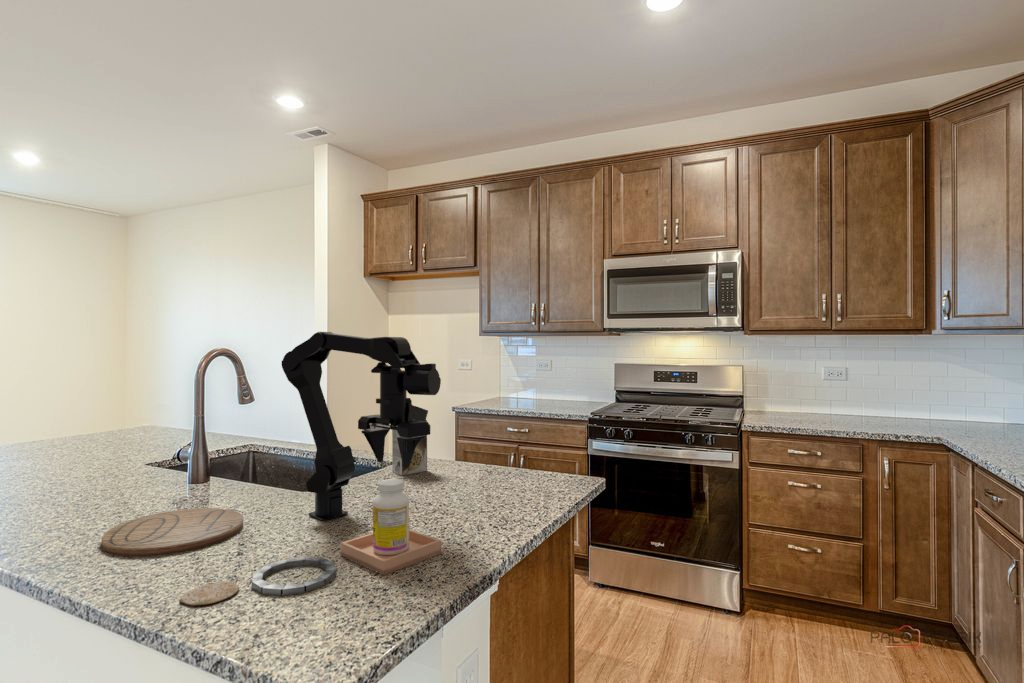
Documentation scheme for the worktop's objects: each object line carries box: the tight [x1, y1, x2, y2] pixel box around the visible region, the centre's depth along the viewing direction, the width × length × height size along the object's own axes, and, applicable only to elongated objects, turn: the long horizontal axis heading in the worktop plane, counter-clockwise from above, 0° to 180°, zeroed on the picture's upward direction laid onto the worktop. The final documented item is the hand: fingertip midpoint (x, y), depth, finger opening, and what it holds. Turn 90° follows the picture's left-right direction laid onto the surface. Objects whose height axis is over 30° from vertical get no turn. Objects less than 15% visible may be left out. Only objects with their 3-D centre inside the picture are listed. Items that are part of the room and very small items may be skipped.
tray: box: [340, 528, 442, 576], centre depth 103 cm, size 13×13×2 cm
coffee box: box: [391, 419, 428, 476], centre depth 170 cm, size 9×6×16 cm
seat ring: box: [251, 556, 337, 597], centre depth 93 cm, size 13×13×1 cm
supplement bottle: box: [372, 478, 410, 555], centre depth 103 cm, size 7×7×13 cm
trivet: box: [101, 507, 244, 558], centre depth 114 cm, size 25×25×2 cm
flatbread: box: [179, 581, 240, 607], centre depth 86 cm, size 8×8×1 cm
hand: (393, 464), depth 121 cm, fingers open, 9 cm apart
